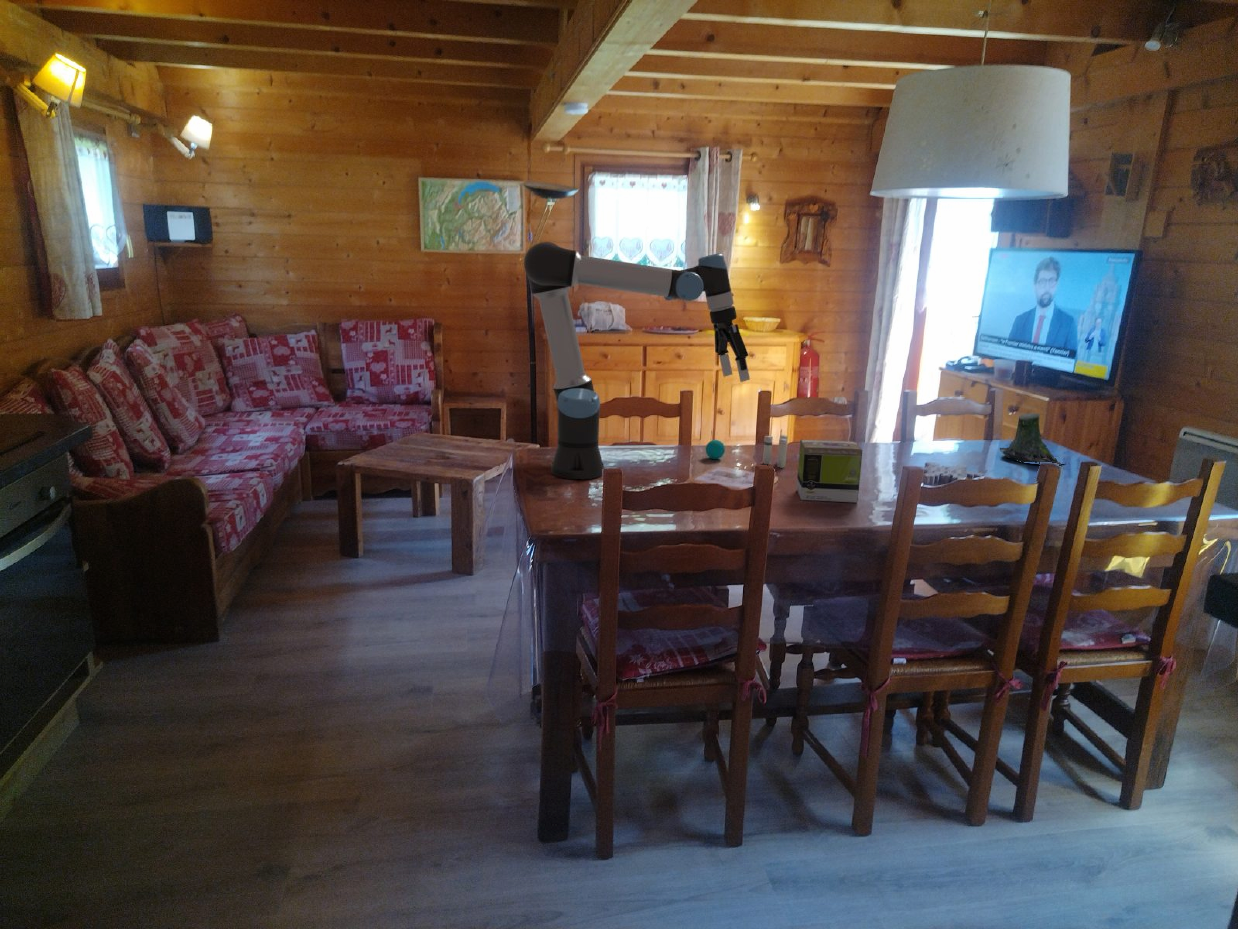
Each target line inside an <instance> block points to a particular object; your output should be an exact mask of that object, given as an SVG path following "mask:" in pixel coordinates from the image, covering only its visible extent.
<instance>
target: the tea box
mask: <svg viewBox="0 0 1238 929" xmlns="http://www.w3.org/2000/svg"><path fill="white" fill-rule="evenodd" d="M862 459H863V449H862V448H861V447H860V446H859V445H858V443H857V441H853V440H851V441H848V440H847V441H846V440H825V439H800V441H799V454H798V466H797V467H798V468H797V476H796V478H797V480H796V490H797V492H798V496H799V497H800V500H801V501H802V500H803V501H815V502H816V501H818V502H821V501H822V502H838V503H839V502H842V503H855V504H857V503H858V502H859V493H860V492H859V491H860V484H861V482H860V481H861V469H862Z"/></svg>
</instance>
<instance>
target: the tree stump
mask: <svg viewBox="0 0 1238 929" xmlns="http://www.w3.org/2000/svg"><path fill="white" fill-rule="evenodd" d="M1014 436H1015V437H1014V439H1013V440H1012V441H1011V442H1010V444H1009V446H1008V447H999V450H1000V452H1001V453H1002V454H1003V455H1004V456H1005V457H1006V458H1007V457H1009V458H1008V459H1010V458H1011V459H1010V460H1013V459H1015V460H1018V461H1021V462H1035V463H1037V462H1039V464H1040V462H1052V463H1057V464H1059V465H1061V463H1060V462H1058V461H1057V459H1056V458H1054V456H1055V455H1053V454H1052V453H1051V451H1050V450H1049V448H1048V446H1047V444H1046V443H1044V442H1043V440H1042V437H1041V436H1042V435H1041V431H1040V414H1039V413H1035V412H1028V413H1024V414H1021V415H1019V416H1018V421H1017V426H1016V431H1015V435H1014ZM1015 460H1014V461H1015ZM1018 461H1017V462H1018ZM1021 462H1020V463H1021ZM1061 466H1062V465H1061Z"/></svg>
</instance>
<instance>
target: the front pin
mask: <svg viewBox="0 0 1238 929" xmlns="http://www.w3.org/2000/svg"><path fill="white" fill-rule="evenodd" d="M763 440H764V441H763V452H762V453H763V454H762V464H763V463H764V464H763V465H767V464H768V465H771V460H772V450H773V436H771V435H765V436H764V439H763Z"/></svg>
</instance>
